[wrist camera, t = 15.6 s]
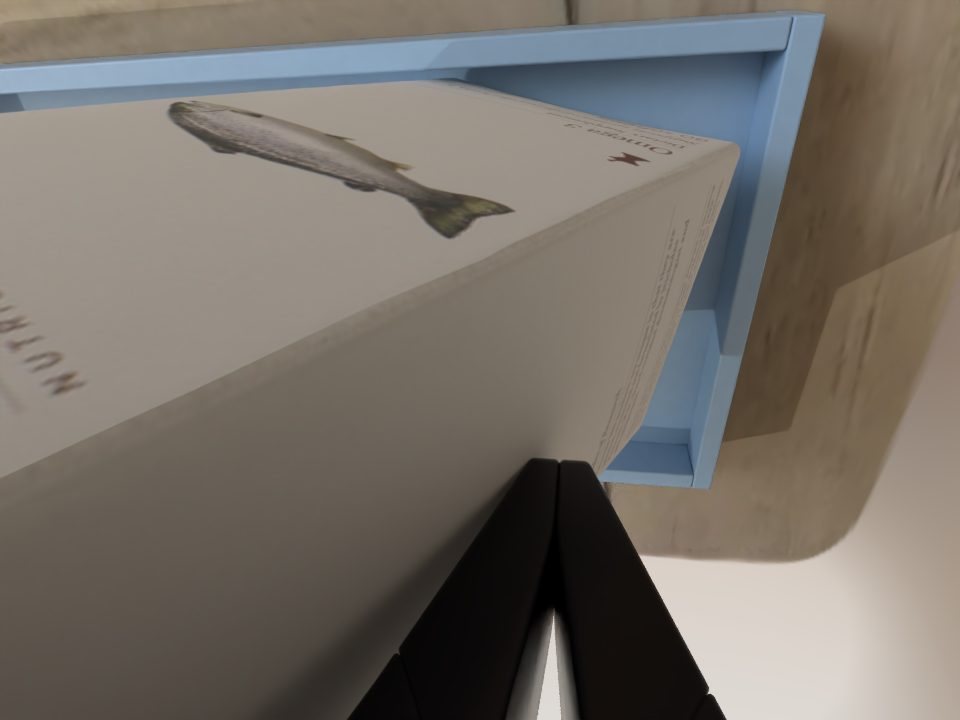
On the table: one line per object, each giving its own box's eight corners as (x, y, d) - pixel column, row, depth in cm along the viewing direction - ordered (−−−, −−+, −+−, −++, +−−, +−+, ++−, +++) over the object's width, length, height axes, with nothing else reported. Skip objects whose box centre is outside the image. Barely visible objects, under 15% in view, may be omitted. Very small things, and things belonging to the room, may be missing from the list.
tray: (795, 9, 12) (828, 12, 10) (700, 448, 19) (711, 490, 18) (-56, 67, 16) (-129, 76, 14) (132, 413, 23) (98, 445, 22)
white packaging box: (757, 136, 10) (-454, 748, 1) (644, 429, 14) (171, 1021, 6) (453, 64, 13) (-471, 122, 5) (435, 320, 18) (-65, 593, 9)
